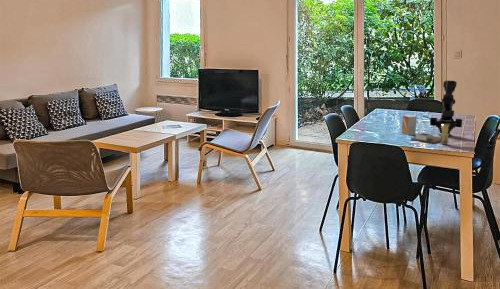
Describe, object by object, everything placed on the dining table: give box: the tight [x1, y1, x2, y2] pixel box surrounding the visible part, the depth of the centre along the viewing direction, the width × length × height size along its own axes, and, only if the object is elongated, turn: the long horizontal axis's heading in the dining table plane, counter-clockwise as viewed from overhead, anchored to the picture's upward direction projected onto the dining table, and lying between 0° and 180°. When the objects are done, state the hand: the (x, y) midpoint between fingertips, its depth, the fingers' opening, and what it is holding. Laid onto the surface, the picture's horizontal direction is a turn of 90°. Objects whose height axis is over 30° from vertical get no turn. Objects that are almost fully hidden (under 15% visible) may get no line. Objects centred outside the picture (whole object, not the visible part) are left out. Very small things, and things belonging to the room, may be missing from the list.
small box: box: [401, 114, 417, 136], centre depth 319 cm, size 8×6×13 cm
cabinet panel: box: [410, 136, 441, 144], centre depth 299 cm, size 16×16×1 cm
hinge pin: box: [439, 124, 449, 145], centre depth 285 cm, size 4×4×12 cm
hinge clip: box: [415, 132, 434, 141], centre depth 297 cm, size 8×8×3 cm
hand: (444, 133), depth 284 cm, fingers closed on hinge pin, 4 cm apart
